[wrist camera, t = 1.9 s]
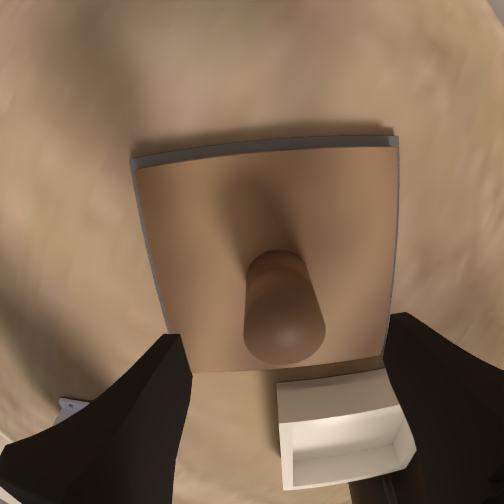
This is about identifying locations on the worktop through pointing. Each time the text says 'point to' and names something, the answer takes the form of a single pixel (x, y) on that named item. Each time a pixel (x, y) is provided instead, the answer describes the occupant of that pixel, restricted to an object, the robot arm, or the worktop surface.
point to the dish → (341, 430)
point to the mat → (256, 147)
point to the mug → (391, 487)
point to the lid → (274, 254)
